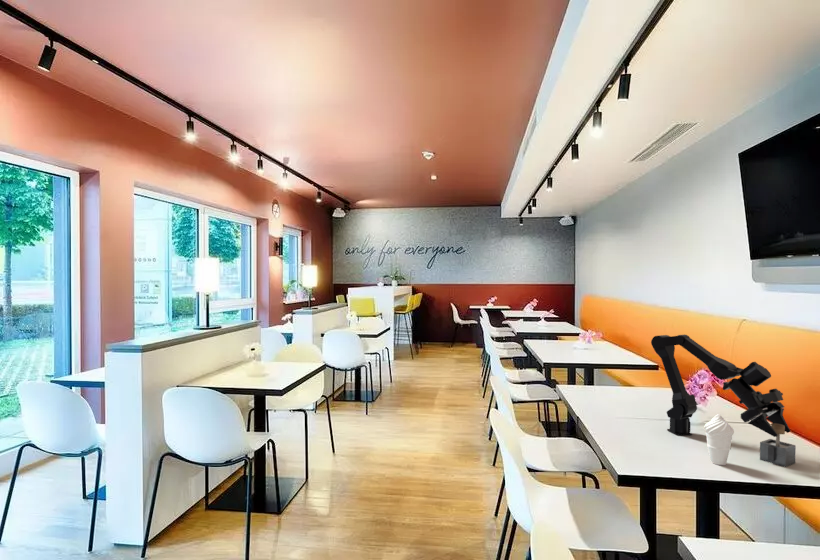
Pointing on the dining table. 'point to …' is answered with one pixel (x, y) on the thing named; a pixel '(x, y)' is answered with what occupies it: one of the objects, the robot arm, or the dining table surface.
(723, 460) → the soft serve ice cream cone
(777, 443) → the plunger
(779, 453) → the box
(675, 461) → the dining table surface
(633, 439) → the dining table surface
